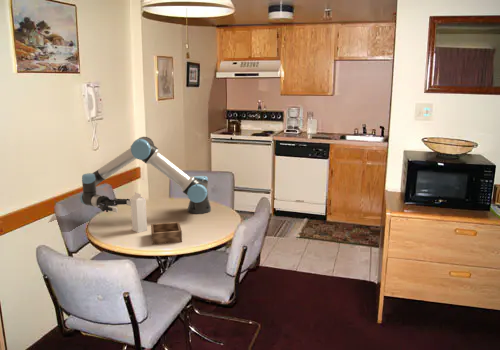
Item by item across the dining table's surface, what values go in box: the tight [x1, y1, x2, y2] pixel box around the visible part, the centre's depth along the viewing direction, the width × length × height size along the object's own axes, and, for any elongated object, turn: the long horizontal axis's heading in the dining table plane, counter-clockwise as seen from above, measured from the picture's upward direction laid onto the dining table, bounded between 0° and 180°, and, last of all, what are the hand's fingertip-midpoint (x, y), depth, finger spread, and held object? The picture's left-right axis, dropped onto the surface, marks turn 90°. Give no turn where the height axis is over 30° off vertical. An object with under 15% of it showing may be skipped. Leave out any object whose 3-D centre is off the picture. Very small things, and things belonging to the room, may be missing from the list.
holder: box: [150, 221, 183, 245], centre depth 228 cm, size 15×15×6 cm
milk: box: [130, 191, 148, 233], centre depth 238 cm, size 6×6×22 cm
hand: (126, 207), depth 243 cm, fingers open, 13 cm apart
